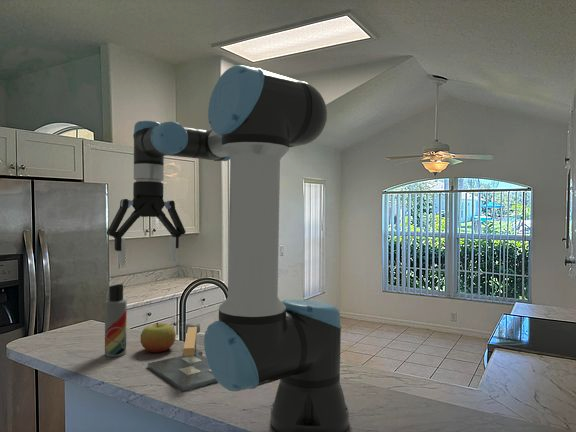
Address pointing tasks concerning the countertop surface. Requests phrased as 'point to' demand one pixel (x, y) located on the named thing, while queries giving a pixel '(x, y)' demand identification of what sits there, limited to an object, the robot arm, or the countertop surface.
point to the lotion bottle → (115, 322)
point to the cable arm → (191, 338)
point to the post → (196, 351)
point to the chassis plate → (184, 371)
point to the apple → (158, 337)
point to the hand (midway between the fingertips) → (147, 262)
